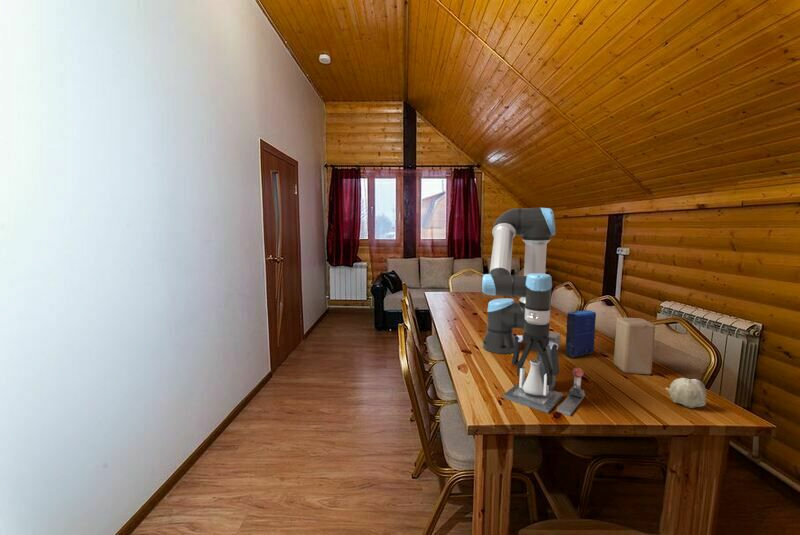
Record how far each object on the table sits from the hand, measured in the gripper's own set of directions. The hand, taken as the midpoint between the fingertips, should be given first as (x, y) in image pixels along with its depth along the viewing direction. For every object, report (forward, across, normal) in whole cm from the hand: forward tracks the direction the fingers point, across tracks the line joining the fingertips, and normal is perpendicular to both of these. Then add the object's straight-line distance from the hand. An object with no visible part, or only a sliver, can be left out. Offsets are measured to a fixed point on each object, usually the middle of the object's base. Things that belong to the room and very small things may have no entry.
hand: (533, 389), depth 110 cm
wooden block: (+3, +20, +50) cm, 54 cm away
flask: (0, 0, 0) cm, 0 cm away
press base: (+2, +3, +3) cm, 5 cm away
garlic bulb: (+3, +37, +28) cm, 46 cm away
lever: (+1, +10, +9) cm, 14 cm away
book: (+3, 0, +53) cm, 53 cm away
